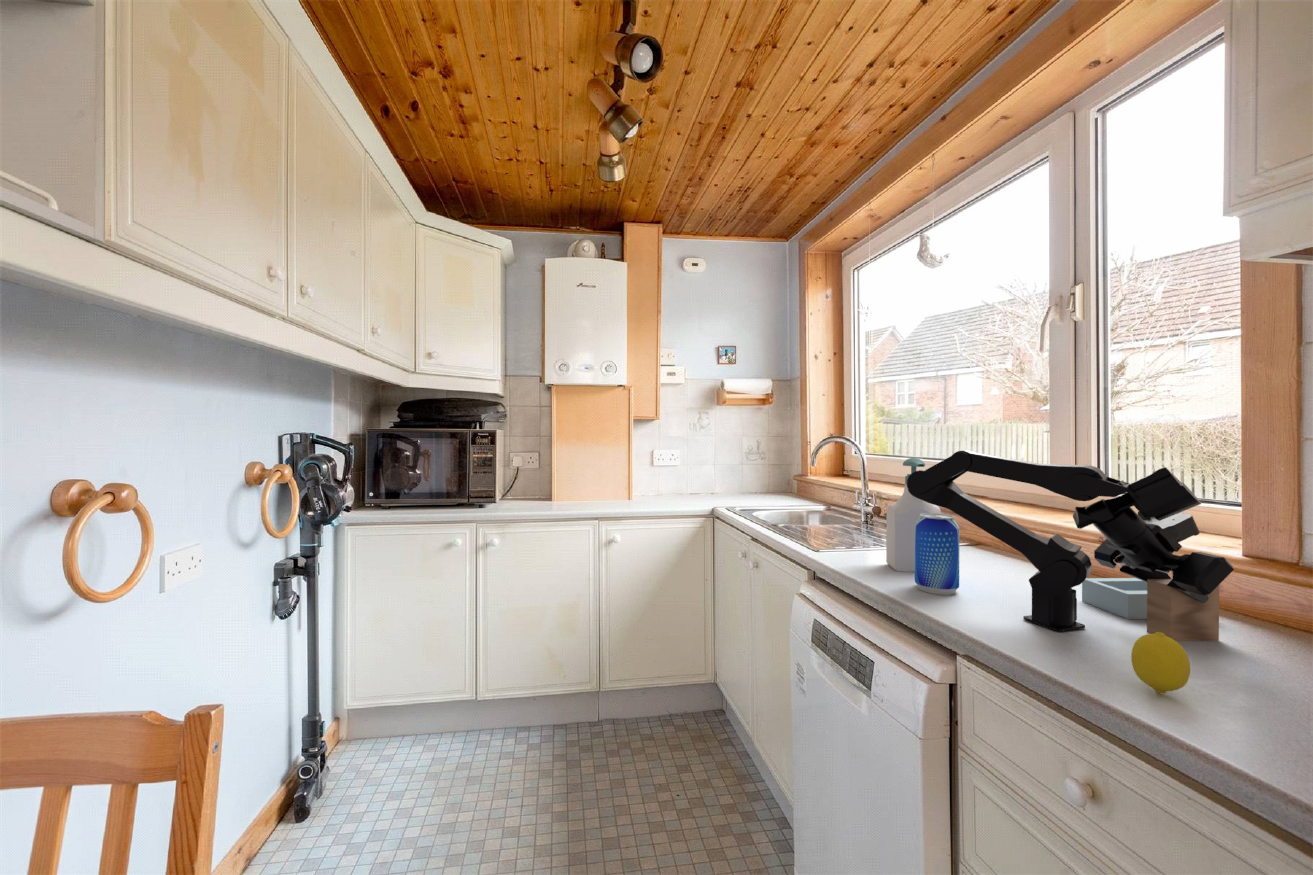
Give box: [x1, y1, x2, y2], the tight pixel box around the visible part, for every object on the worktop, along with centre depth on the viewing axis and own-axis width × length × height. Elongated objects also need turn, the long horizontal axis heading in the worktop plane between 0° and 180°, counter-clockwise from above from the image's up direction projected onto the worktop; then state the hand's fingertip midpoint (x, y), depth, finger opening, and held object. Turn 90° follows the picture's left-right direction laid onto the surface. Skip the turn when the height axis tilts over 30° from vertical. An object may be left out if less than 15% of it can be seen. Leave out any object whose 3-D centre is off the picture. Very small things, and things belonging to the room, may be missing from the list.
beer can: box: [914, 513, 960, 596], centre depth 112 cm, size 8×8×16 cm
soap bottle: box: [885, 457, 942, 573], centre depth 129 cm, size 11×8×27 cm
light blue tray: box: [1081, 577, 1147, 620], centre depth 100 cm, size 14×10×4 cm
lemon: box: [1130, 632, 1191, 694], centre depth 68 cm, size 6×6×8 cm
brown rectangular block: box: [1146, 578, 1220, 642], centre depth 87 cm, size 8×4×9 cm, turn 91°
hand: (1190, 596), depth 87 cm, fingers open, 4 cm apart
